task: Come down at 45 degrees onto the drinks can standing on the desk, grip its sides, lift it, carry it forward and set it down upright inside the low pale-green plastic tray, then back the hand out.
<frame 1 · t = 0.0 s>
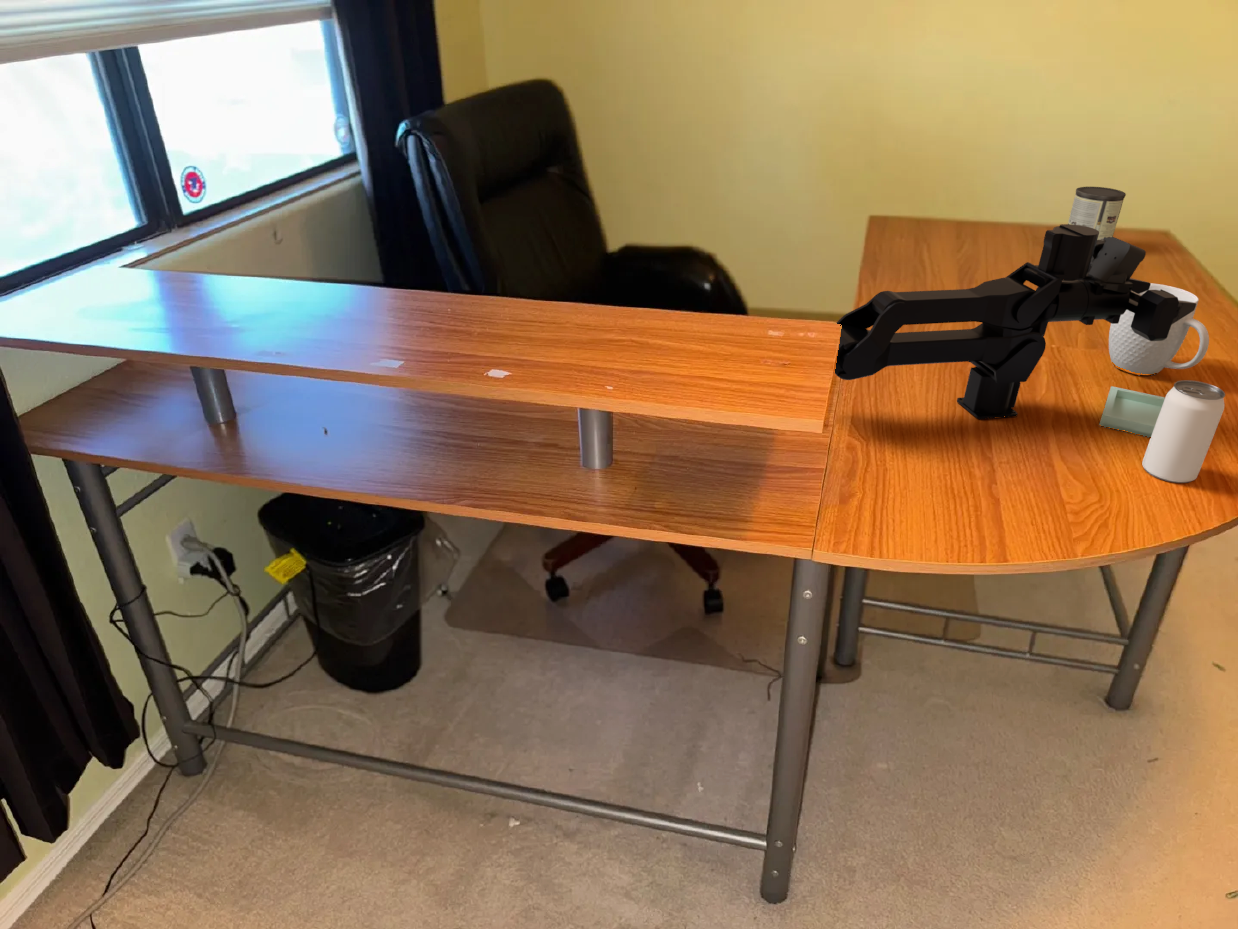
hand: (1171, 296, 128), 17 cm above the table, tool horizontal, fingers open, 9 cm apart
tray: (1148, 420, 130), on the table
coffee can: (1083, 252, 209), on the table
mug: (1140, 371, 146), on the table
can: (1167, 473, 116), on the table
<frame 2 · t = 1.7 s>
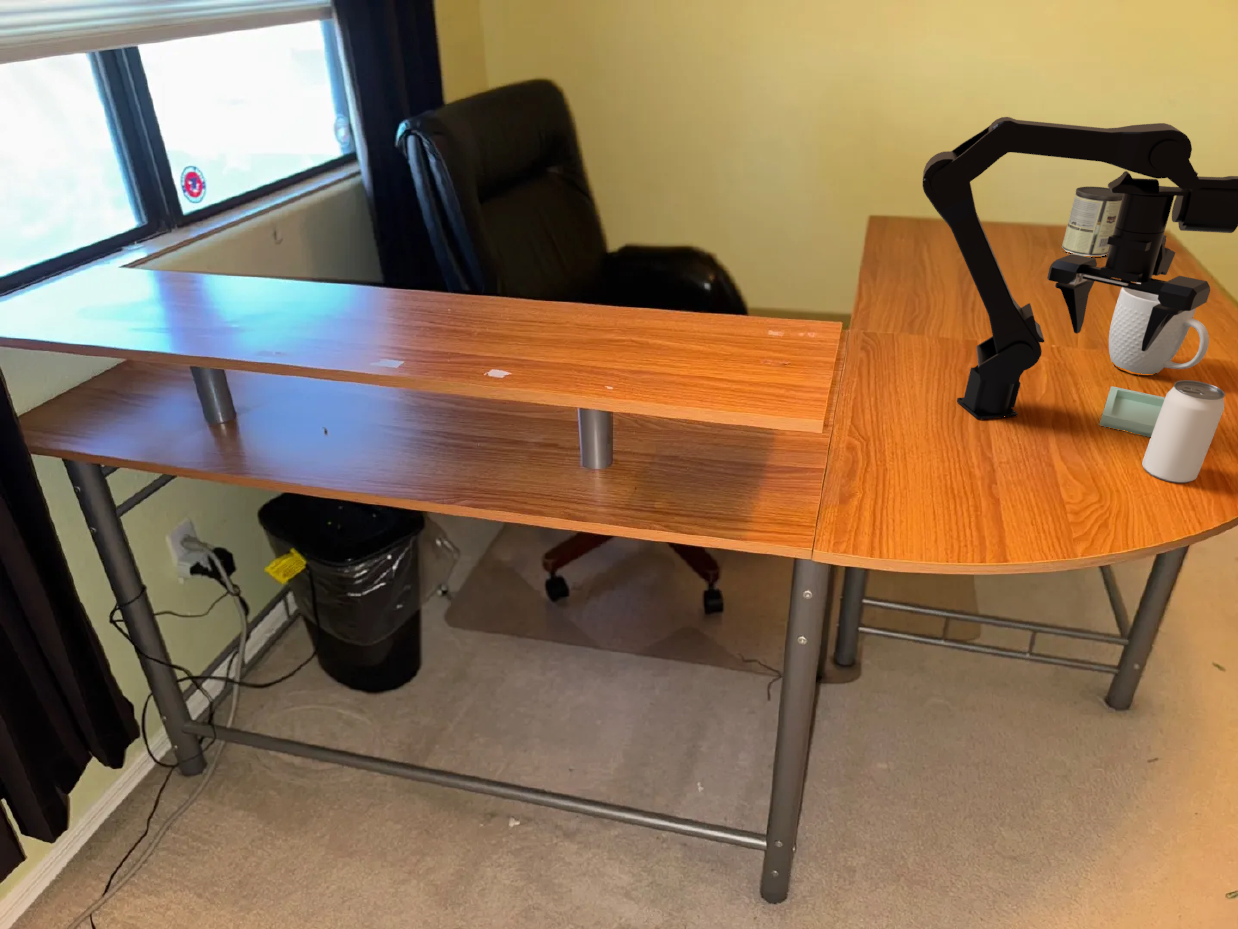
hand: (1109, 341, 122), 13 cm above the table, tool pointing down, fingers open, 9 cm apart
nothing on the table moved.
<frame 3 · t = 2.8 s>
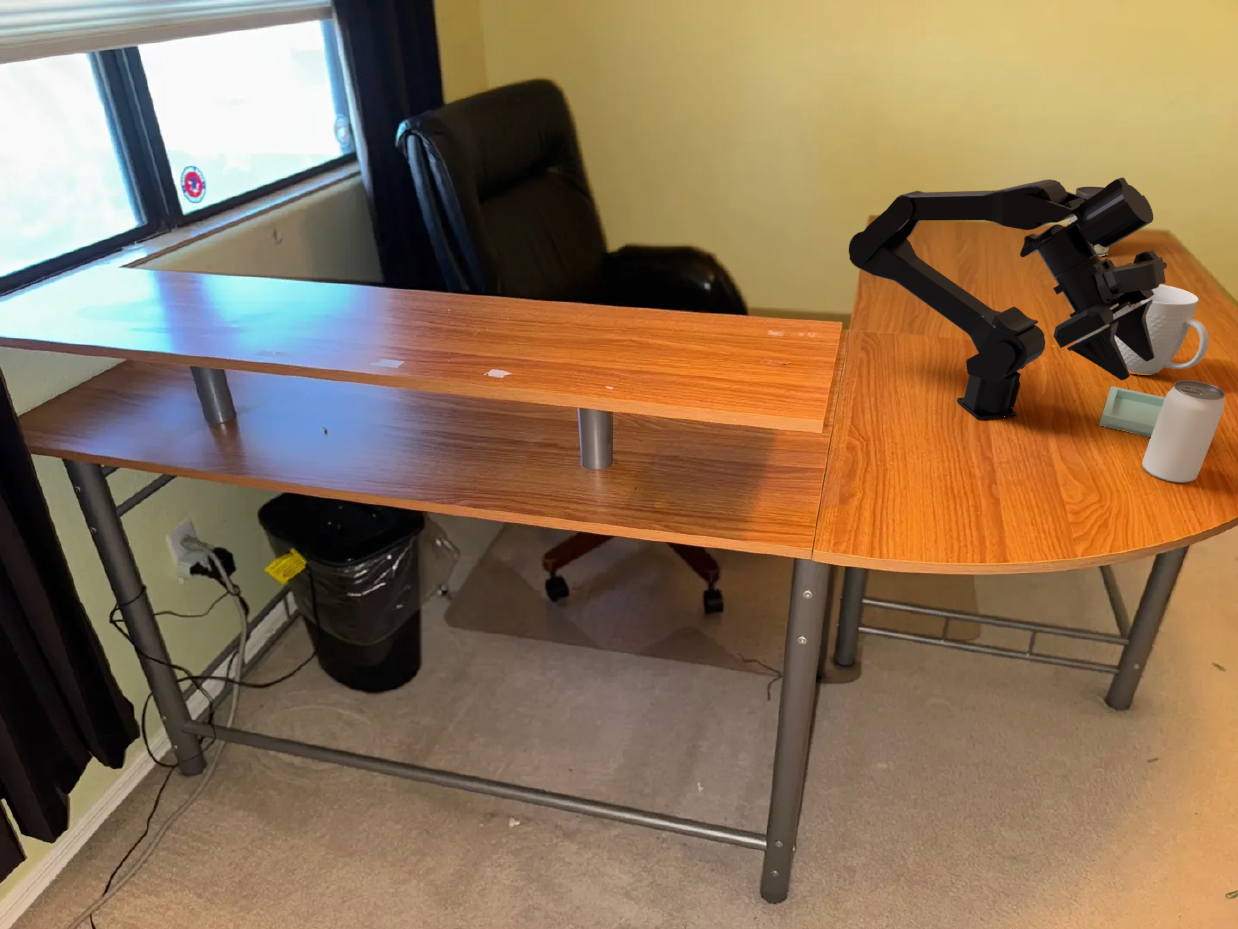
hand: (1138, 368, 115), 12 cm above the table, tool tilted 45°, fingers open, 9 cm apart
nothing on the table moved.
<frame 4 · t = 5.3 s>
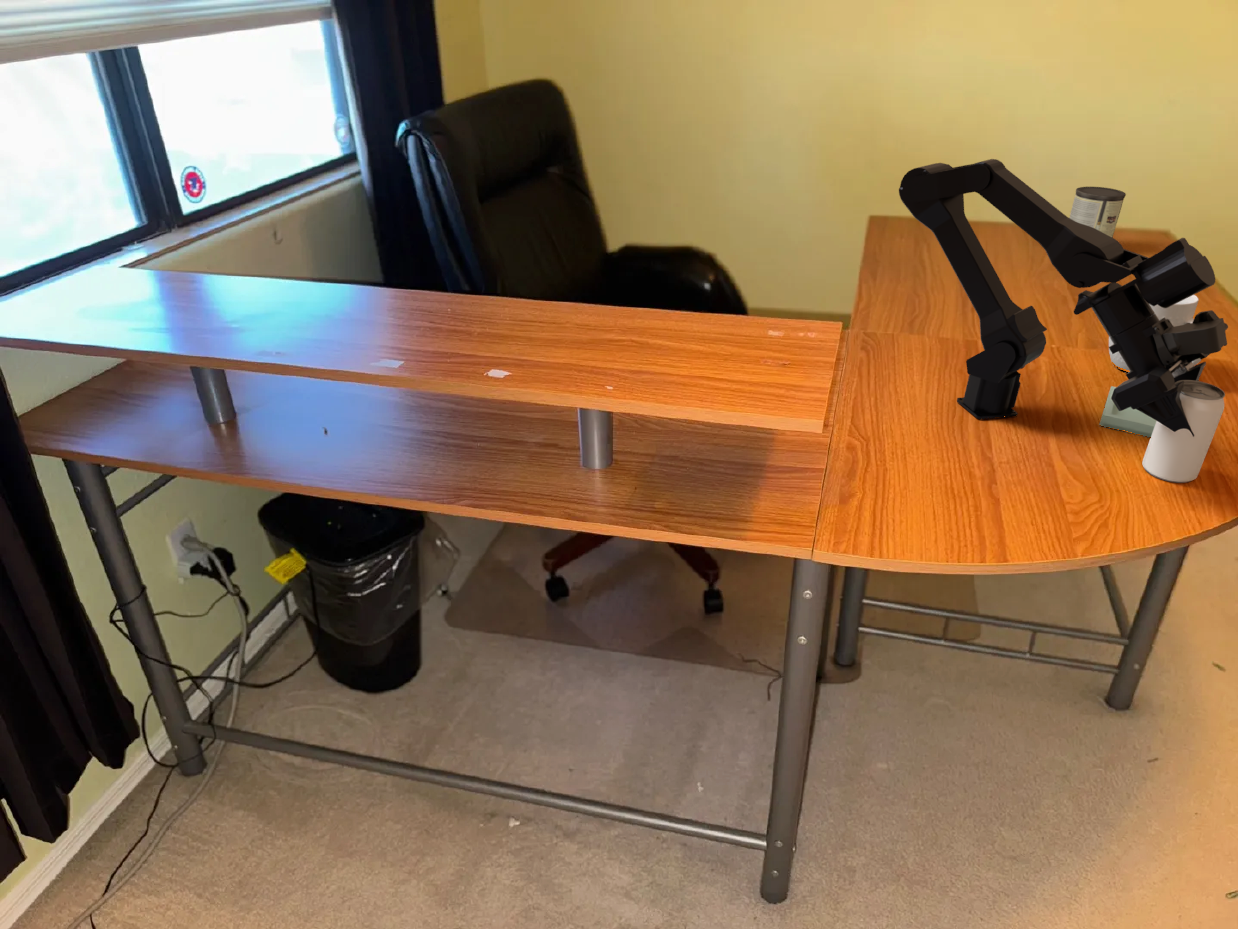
hand: (1197, 430, 112), 7 cm above the table, tool tilted 45°, fingers closed on can, 5 cm apart
can: (1167, 472, 116), on the table, touching gripper
everything else where it was.
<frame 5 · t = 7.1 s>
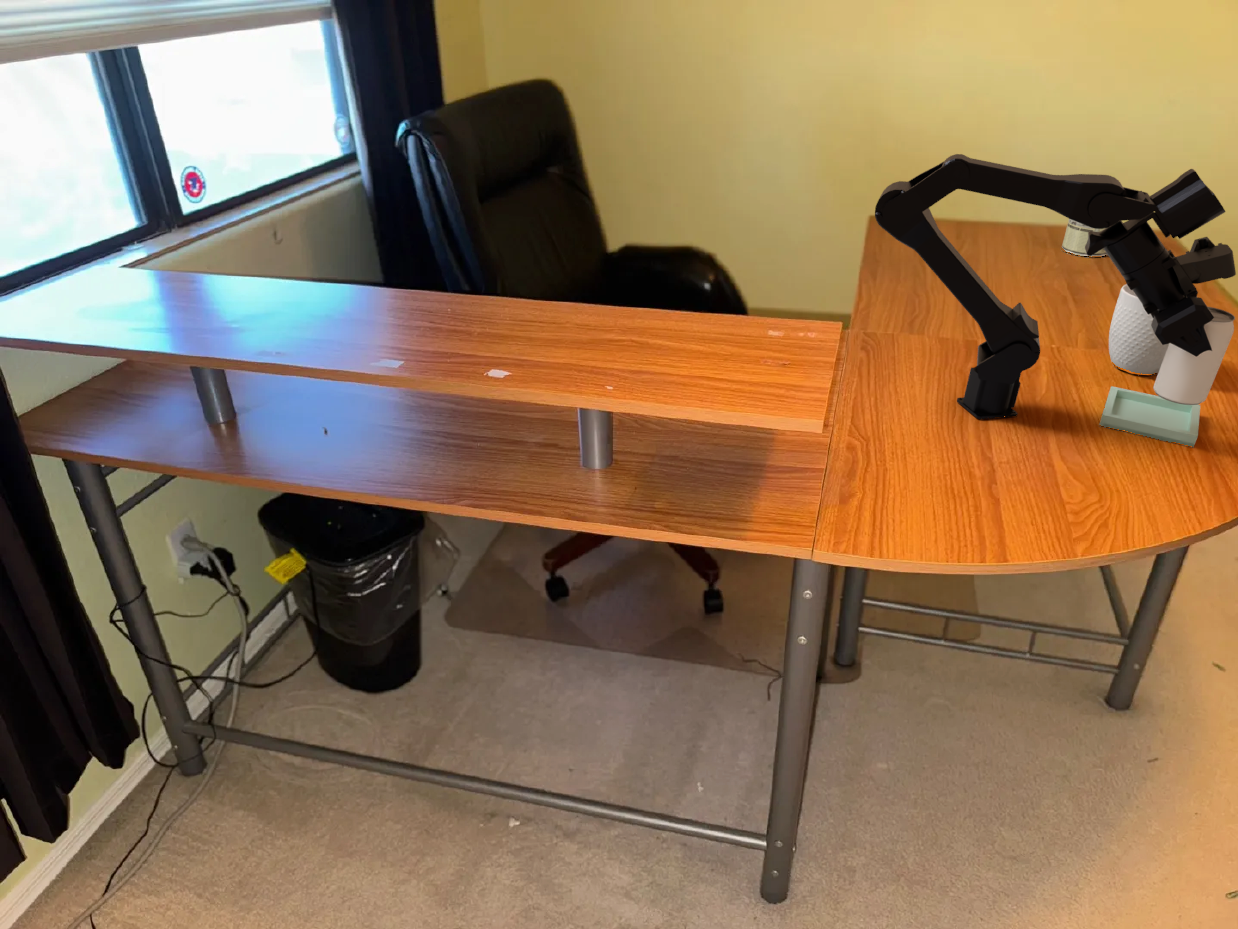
hand: (1206, 352, 118), 13 cm above the table, tool tilted 45°, fingers closed on can, 5 cm apart
can: (1177, 396, 122), point 6 cm above the table, touching gripper
everything else where it was.
when the fingers open (8 cm above the table, at t = 8.9 s): can stays where it is, resting on tray.
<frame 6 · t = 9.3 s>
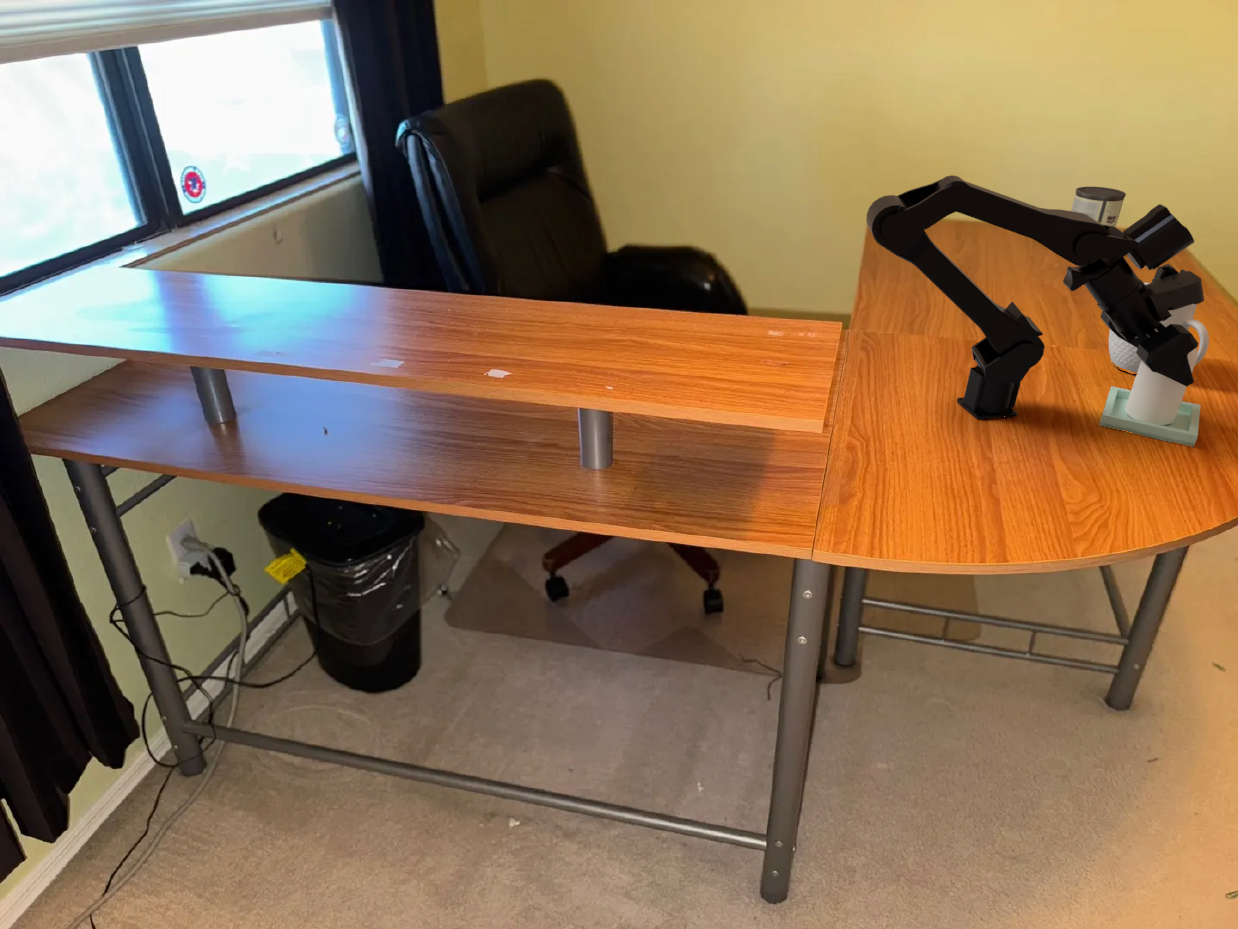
hand: (1176, 370, 125), 8 cm above the table, tool tilted 45°, fingers open, 9 cm apart
can: (1148, 418, 129), resting on tray
everything else where it was.
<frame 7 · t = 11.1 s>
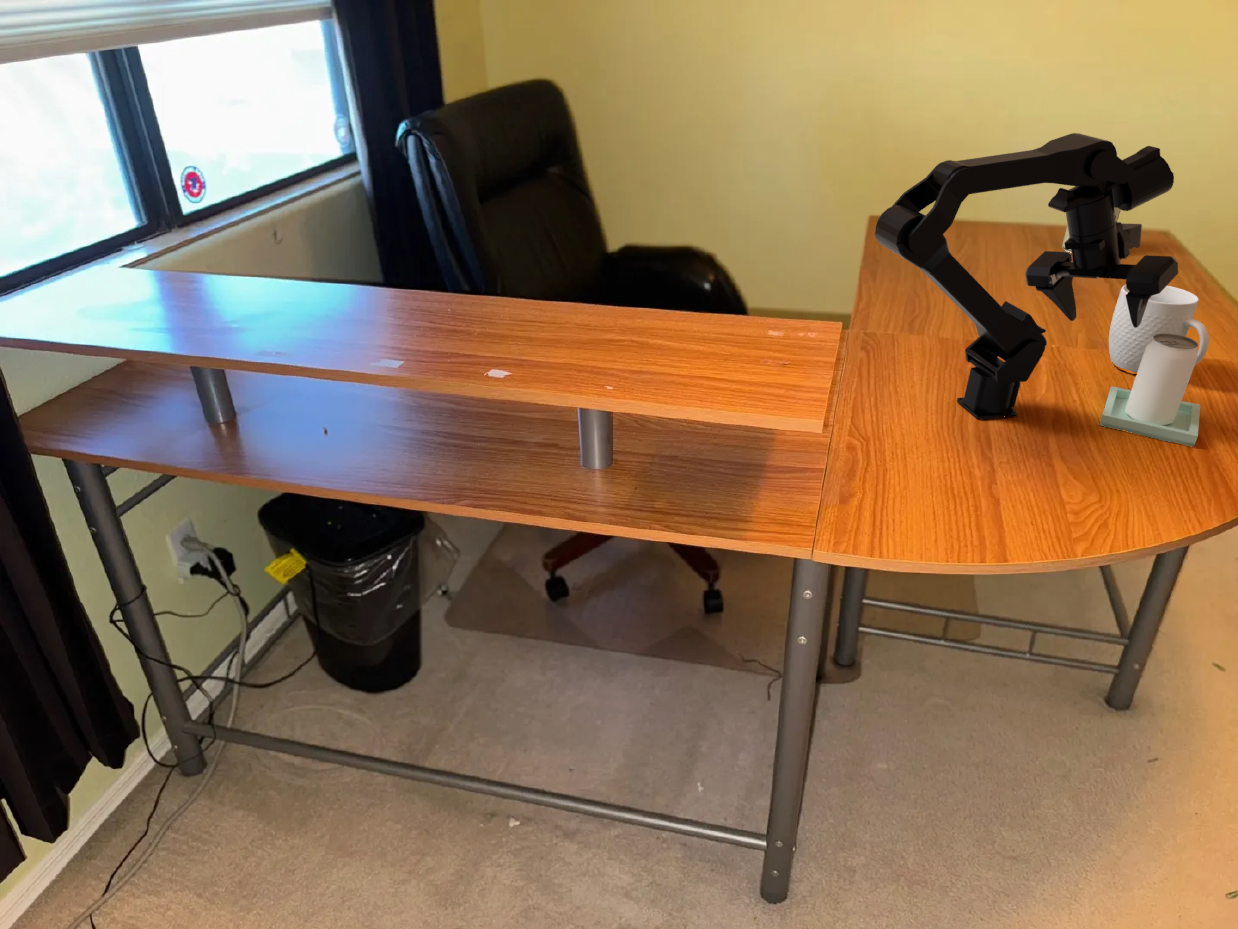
hand: (1104, 322, 128), 13 cm above the table, tool tilted 25°, fingers open, 9 cm apart
nothing on the table moved.
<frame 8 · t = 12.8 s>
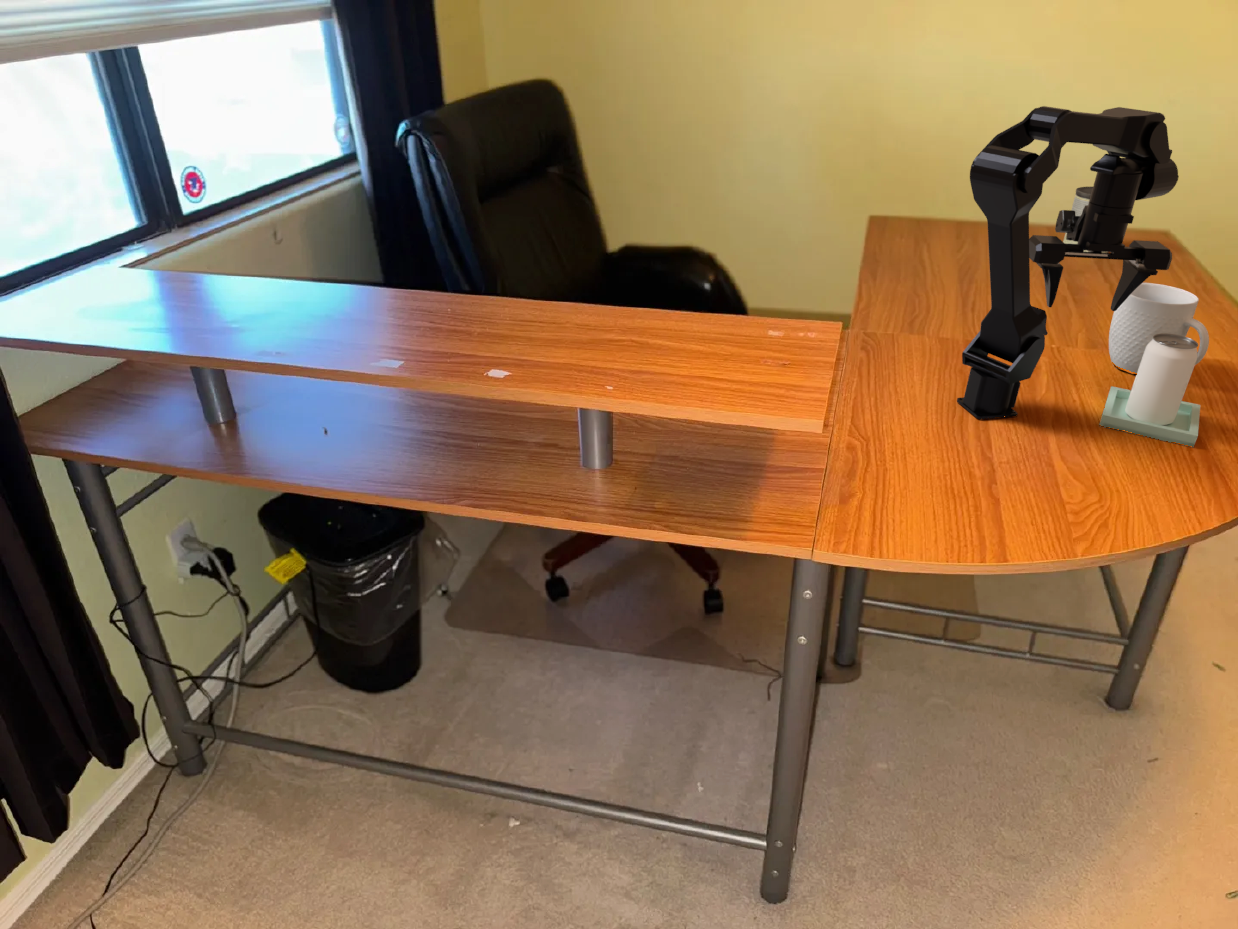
hand: (1080, 308, 133), 13 cm above the table, tool pointing down, fingers open, 9 cm apart
nothing on the table moved.
at the end: can 0.2 cm from the tray (horizontally); can tilted 0°; the gripper is holding nothing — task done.
